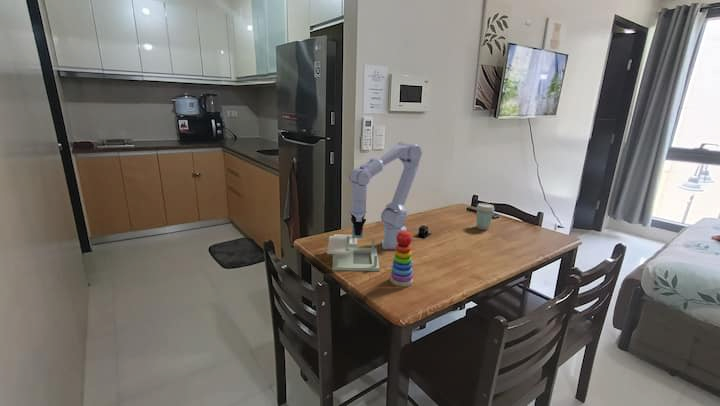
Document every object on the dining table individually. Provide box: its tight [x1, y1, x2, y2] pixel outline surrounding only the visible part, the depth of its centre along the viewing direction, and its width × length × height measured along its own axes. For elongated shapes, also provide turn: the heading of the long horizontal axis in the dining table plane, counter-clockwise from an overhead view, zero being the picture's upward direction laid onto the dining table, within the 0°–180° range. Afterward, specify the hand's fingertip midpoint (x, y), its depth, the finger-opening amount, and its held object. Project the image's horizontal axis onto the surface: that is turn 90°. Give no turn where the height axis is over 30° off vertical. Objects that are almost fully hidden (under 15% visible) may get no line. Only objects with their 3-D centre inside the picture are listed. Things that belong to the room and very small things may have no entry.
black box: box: [413, 224, 433, 240], centre depth 159 cm, size 12×7×5 cm, turn 144°
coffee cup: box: [476, 202, 495, 231], centre depth 169 cm, size 8×8×12 cm
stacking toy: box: [389, 230, 414, 288], centre depth 113 cm, size 8×8×19 cm
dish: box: [333, 234, 358, 248], centre depth 147 cm, size 10×10×2 cm
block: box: [351, 224, 364, 239], centre depth 133 cm, size 4×4×4 cm
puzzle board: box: [331, 238, 381, 272], centre depth 130 cm, size 17×18×6 cm
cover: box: [326, 235, 350, 255], centre depth 129 cm, size 8×15×1 cm, turn 1°
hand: (357, 233), depth 133 cm, fingers closed on block, 4 cm apart
